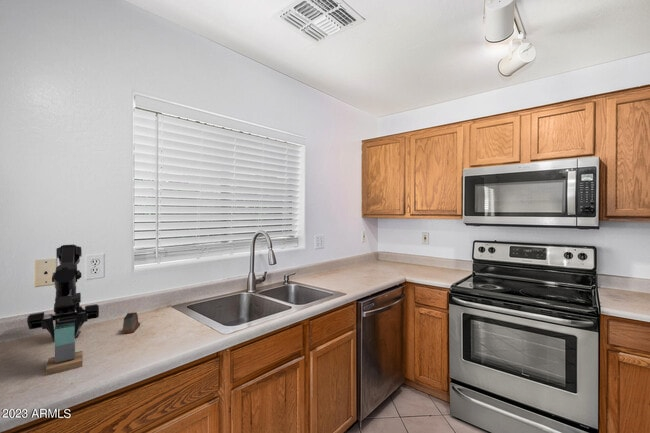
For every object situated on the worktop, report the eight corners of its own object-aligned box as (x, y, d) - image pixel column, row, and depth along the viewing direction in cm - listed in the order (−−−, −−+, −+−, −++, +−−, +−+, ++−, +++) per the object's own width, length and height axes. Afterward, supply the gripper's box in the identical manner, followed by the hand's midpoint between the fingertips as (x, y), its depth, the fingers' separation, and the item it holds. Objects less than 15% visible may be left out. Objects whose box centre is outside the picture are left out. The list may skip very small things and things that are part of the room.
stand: (48, 364, 104) (48, 358, 104) (82, 356, 109) (82, 350, 109) (46, 375, 97) (45, 369, 97) (82, 366, 102) (82, 360, 102)
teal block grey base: (56, 357, 103) (55, 325, 103) (75, 352, 107) (74, 321, 106) (54, 363, 100) (54, 329, 99) (74, 358, 103) (74, 326, 102)
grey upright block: (140, 324, 139) (140, 308, 139) (133, 333, 130) (133, 315, 130) (129, 325, 138) (129, 309, 138) (122, 334, 129) (121, 316, 128)
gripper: (27, 290, 100) (22, 335, 91) (98, 282, 111) (99, 321, 103) (31, 307, 106) (27, 350, 98) (98, 298, 118) (99, 336, 109)
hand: (64, 339), depth 102 cm, fingers closed on teal block grey base, 5 cm apart
